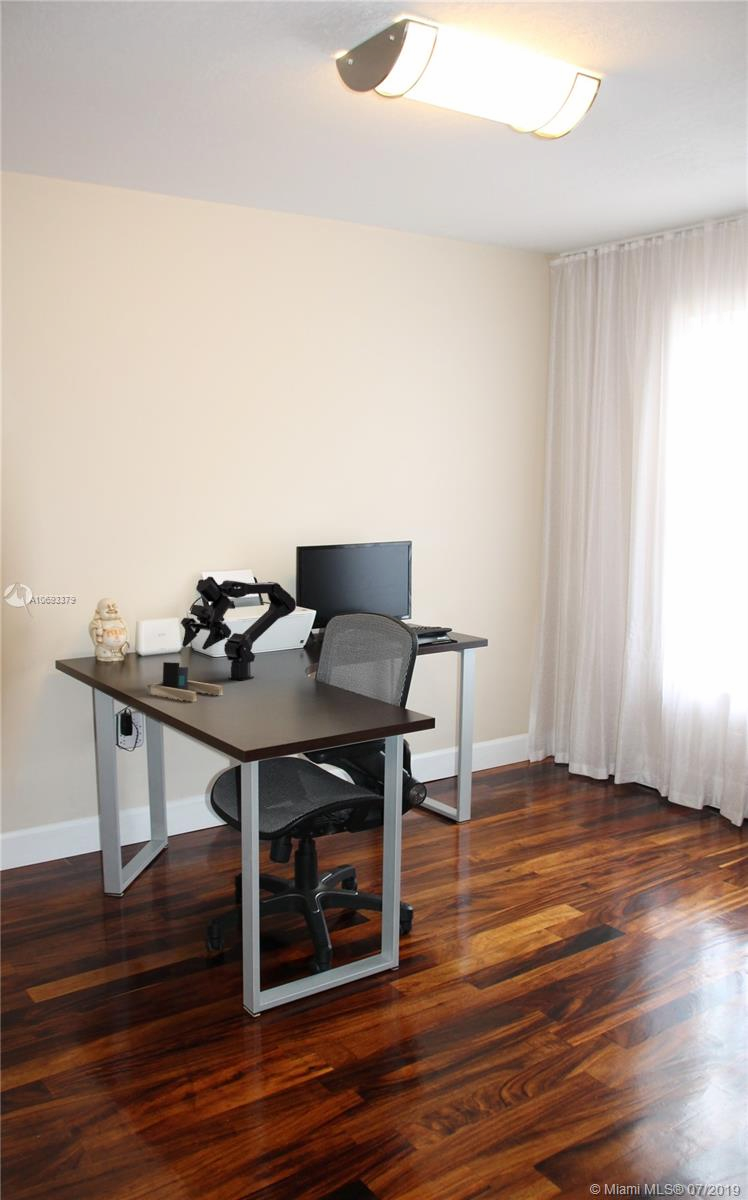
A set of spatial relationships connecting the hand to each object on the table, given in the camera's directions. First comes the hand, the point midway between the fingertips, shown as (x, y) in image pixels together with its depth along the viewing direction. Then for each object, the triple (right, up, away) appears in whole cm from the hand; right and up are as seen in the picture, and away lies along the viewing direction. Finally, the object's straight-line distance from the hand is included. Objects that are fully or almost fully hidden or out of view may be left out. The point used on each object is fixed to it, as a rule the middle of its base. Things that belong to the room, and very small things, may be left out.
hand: (193, 647), depth 320 cm
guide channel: (-1, -15, -8) cm, 17 cm away
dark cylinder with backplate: (-4, -14, -5) cm, 16 cm away
